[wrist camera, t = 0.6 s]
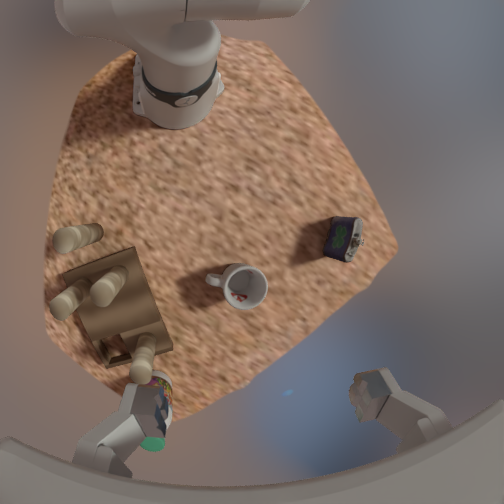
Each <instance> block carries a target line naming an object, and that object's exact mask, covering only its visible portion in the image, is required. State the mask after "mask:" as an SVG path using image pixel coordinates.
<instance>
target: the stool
mask: <svg viewBox="0 0 504 504" xmlns="http://www.w3.org/2000/svg"><path fill="white" fill-rule="evenodd" d="M62 275H63V278H64V280H65V283H66V286H67V289H66V290H64V291H63V292H62V293H60V294H59V295H58V296H56V297H55V298H54V299H52V300H51V302H50V305H49V308H50V312H51V314H52V315H53V317H54V318H56V319H57V320H60V321H63V320H65V319H67V318H68V317H69V316H70V315H71V313H72V312H73V311H74V310H75V309H76V310H77V312H78V314H79V317H80V319H81V321H82V323H83V325H84V327H85V329H86V331H87V333H88V335H89V337H90V339H91V341H92V343H93V345H94V347H95V349H96V351H97V353H98V355H99V357H100V358H101V360H102V362H103V364H104V366H105V367H106V369H108V368H112V367H116V366H119V365H123V364H127V363H131V362H132V364H131V368H130V372H129V376H130V378H131V380H132V381H133V382H135V383H137V384H147V383H149V382H150V380H151V376H152V369H153V361H154V356H155V355H159V354H162V353H165V352H169V351H172V350H173V342H172V340H171V338H170V336H169V333H168V331H167V329H166V327H165V324H164V322H163V320H162V317H161V315H160V312H159V310H158V308H157V305H156V303H155V300H154V298H153V295H152V293H151V290H150V287H149V285H148V282H147V280H146V277H145V274H144V271H143V269H142V266H141V263H140V260H139V257H138V254H137V251H136V249H135V246H134V247H131V248H128V249H126V250H123V251H120V252H117V253H115V254H112V255H109V256H106V257H104V258H101V259H98V260H96V261H93V262H90V263H88V264H85V265H83V266H80V267H77V268H75V269H72V270H70V271H67V272H66V273H64V274H62ZM117 334H120V335H121V337H122V339H123V341H124V343H125V345H126V347H127V349H128V351H129V353H128V354H124V355H121V356H117V357H113V358H111V357H110V355H109V353H108V351H107V349H106V347H105V345H104V343H103V342H102V340H101V339H103V338H107V337H110V336H113V335H117Z"/></svg>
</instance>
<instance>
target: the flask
mask: <svg viewBox="0 0 504 504" xmlns="http://www.w3.org/2000/svg"><path fill="white" fill-rule="evenodd" d="M330 224H331V226H330V229H329V231H328V238H327V240H326V244H325V246H324V249H323V253H324V255H326V256H327V257H330V258H333V259H336V260H339V261H343V262H351V261H352V260H353V258H354V255H355V253H356V251H357V249H358V247H359V244H361V242H362V239H360V238H361V233H362V225H363V223H362V220H361V219H360V218H358V217H354V218H353V217H339V216H335V217H333V219H332V221H331V223H330ZM363 241H364V239H363ZM363 244H364V242H362V244H361V245H362V246H363Z"/></svg>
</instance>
